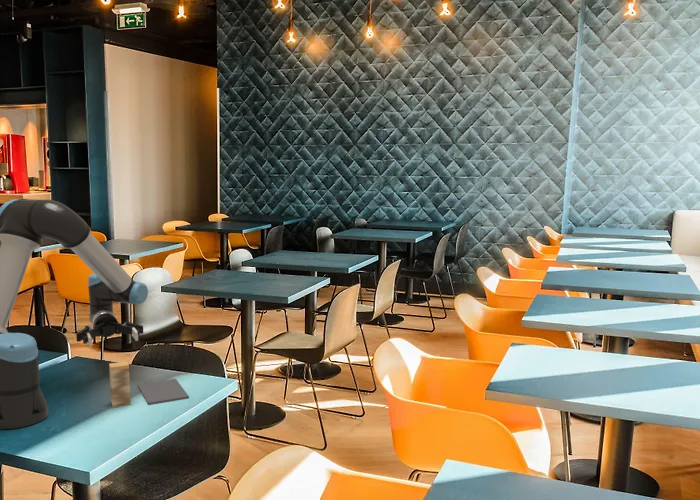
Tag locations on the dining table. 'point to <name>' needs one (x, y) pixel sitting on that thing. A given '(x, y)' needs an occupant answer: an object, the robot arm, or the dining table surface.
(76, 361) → the dining table surface
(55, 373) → the dining table surface
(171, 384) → the rubber mat
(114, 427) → the dining table surface
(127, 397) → the maple block
